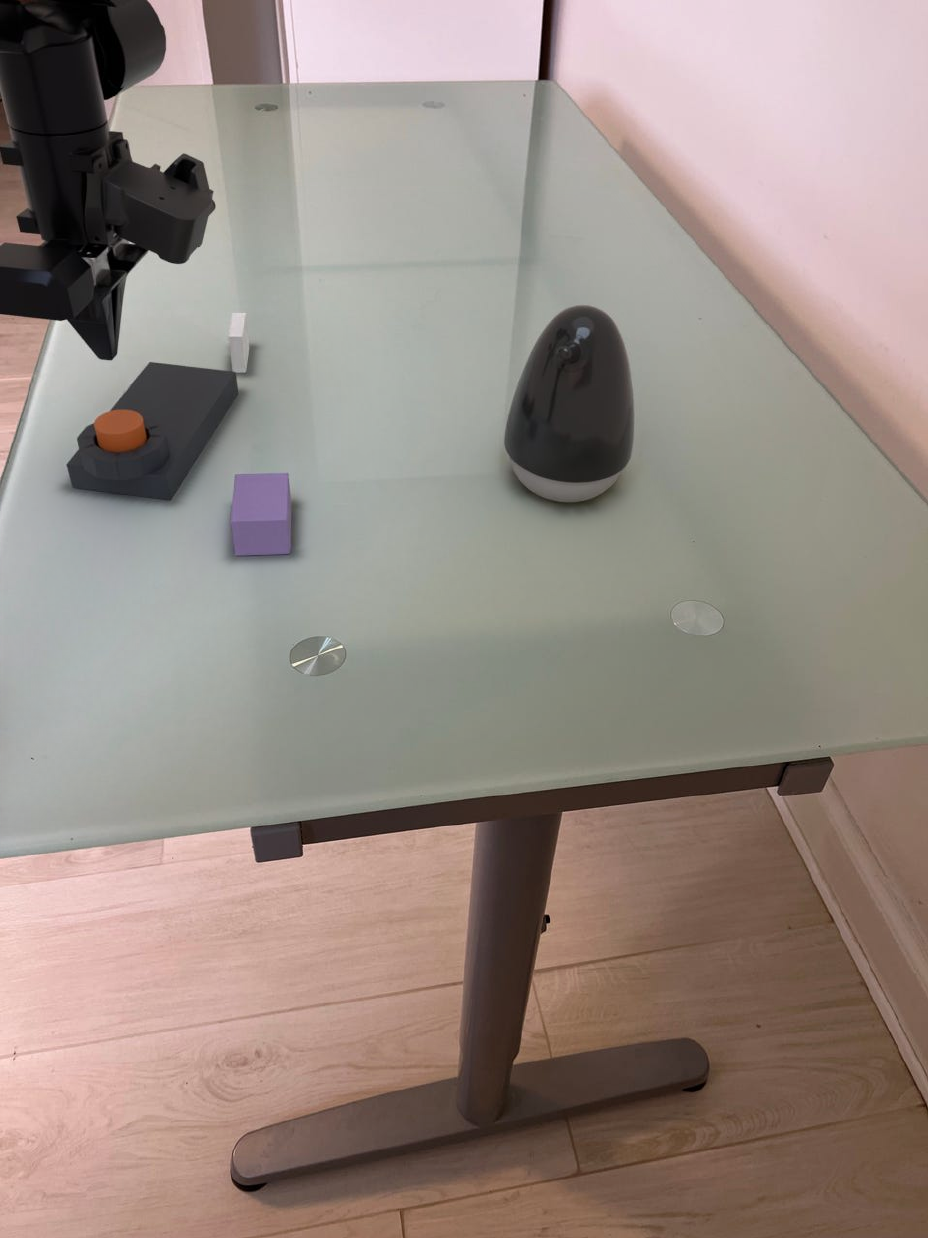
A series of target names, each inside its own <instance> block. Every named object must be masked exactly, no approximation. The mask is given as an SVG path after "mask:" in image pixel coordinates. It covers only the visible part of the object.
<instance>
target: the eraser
mask: <svg viewBox="0 0 928 1238" xmlns="http://www.w3.org/2000/svg"><path fill="white" fill-rule="evenodd" d="M228 343H229V344H228V345H229V353H230V360H231V369H232V370H231V371H232V372H236V374H237V373H238V374H239V373H241V374H244V373H245V374H246V373H247V369H248V361H249V353H250V340H249V331H248V321H247V313H246V312H232V314H231V321H230V326H229V332H228Z"/></svg>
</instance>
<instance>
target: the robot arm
mask: <svg viewBox="0 0 928 1238" xmlns="http://www.w3.org/2000/svg"><path fill="white" fill-rule="evenodd" d="M166 52H167V36H166V30H165V27H164V25H163V24H162V23H161V20H160V18H159V15H158V13H157V12H156V10H155V8H154V7H153V5H152V3H150V1H149V0H37V1H25V2H23V3H22V2H21V1H19V0H0V95H1V100H2V105H3V108H4V112H5V117H6V121H7V124H8V129H9V133H10V137H11V138H10V139H9V140H7V141H5V142H4V143H2V144H0V157H1V162H2V164H3V165H6V166H7V165H8V166H16V167H18V171H19V175H20V178H21V183H22V186H23V192H24V194H25V200H26V203H27V208H25V209H24V210H22V211H21V212H20V213H18V214H17V215H16V221H17V225H18V229H19V232H20V233H23V234H33V235H40V238H41V240H42V241H43V242H42V243H40V244H39V245H34V244H23V243H15V242H6V241H4V242H3V243H2V244H1V245H0V315H3V316H10V317H11V316H13V317H21V318H29V319H38V320H47V321H56V322H63V321H67V322H68V323H69V324H70V326H71V327H72V328H73V330H75V332H76V333H77V334H78V335H79V337H80V338H81V339H82V341H83V342H84V343H85V344H86V345H87V347H89V350H91V352H92V353H93V354H94V355H95V356H96V357H97V359H98V360H100V361H101V360H102V361H110V362H111V361H113V360H114V359H115V358H116V357H117V355H118V351H119V341H120V332H121V324H122V323H121V322H122V315H123V314H122V313H123V303H124V296H125V289H126V282H127V278H128V275H129V274H130V273H131V272H132V270H134V268H136V266H137V265H138V264H139V263H140V262H141V261H142V260H143V258H145V257H146V256H147V255H148V253H149V252H151V253H153V254H156V255H157V256H158V258H159V259H161V261H164V262H166V263H170V264H173V265H182V264H186V263H187V262H188V261H189V260H190V257H191V256H192V254H193V253H194V252H195V251H196V250H197V249H198V248H201V246H202V245H203V242H204V237H205V233H206V229H207V224H208V220H209V217H210V216H211V214H212V213H213V212H214V211H215V210H216V207H217V206H216V202H215V201H214V199H213V196H214V190H213V189H211V188H210V185H209V180H208V176H207V172H206V171H207V170H206V168H205V163H204V162H203V161H202V160H200V159H198V158H196V157H193V156H191V155H189V154H188V153H184V152H183V153H182V154H180V155H179V156H178V157H177V158H176V159H175V160H174V161H172V162H171V163H170V165H169V166H168V167H167V168H166V169H165V170H164V171H161V167H162V166H161V165H159V164H157V163H154V164H153V165H152V166H150V167H148V166H145V165H143V164H140V163H137V162H135V161H133V157H132V155H131V148H130V143H129V140H128V139H126V138H124V132H122V131H115V130H114V131H113V130H110V125H109V120H108V116H107V115H108V114H107V109H106V104H105V101H107V100H110V99H112V98H114V97H116V96H118V95H120V94H121V93H124V92H125V91H127V90H129V89H130V88H133V87H134V86H136V85H138V84H139V83H141V82H142V81H144V80H146V79H148V78H150V77H152V76H153V75H155V74H156V73H157V71H159V70H160V68H161V67H162V64H163V63H164V60H165V57H166Z"/></svg>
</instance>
